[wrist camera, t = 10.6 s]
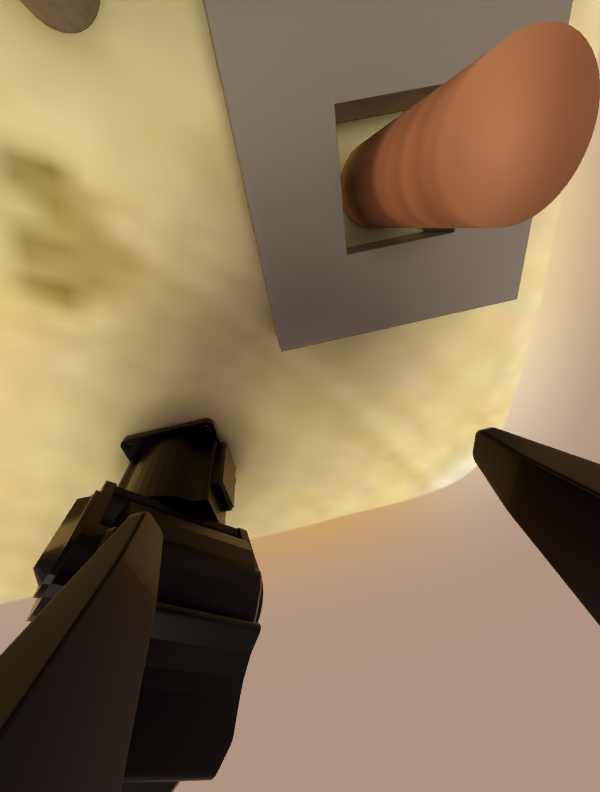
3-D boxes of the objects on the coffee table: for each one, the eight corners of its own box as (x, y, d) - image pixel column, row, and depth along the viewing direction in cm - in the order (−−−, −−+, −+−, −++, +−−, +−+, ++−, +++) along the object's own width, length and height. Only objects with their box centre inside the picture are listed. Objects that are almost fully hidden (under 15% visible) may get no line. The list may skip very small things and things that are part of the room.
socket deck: (276, 335, 19) (281, 351, 17) (110, -415, 8) (50, -704, 6) (482, 290, 20) (516, 299, 17) (577, -460, 9) (710, -736, 6)
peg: (344, 234, 17) (442, 241, 9) (336, 145, 15) (454, 37, 7) (411, 220, 17) (573, 213, 9) (412, 130, 15) (624, 6, 7)
